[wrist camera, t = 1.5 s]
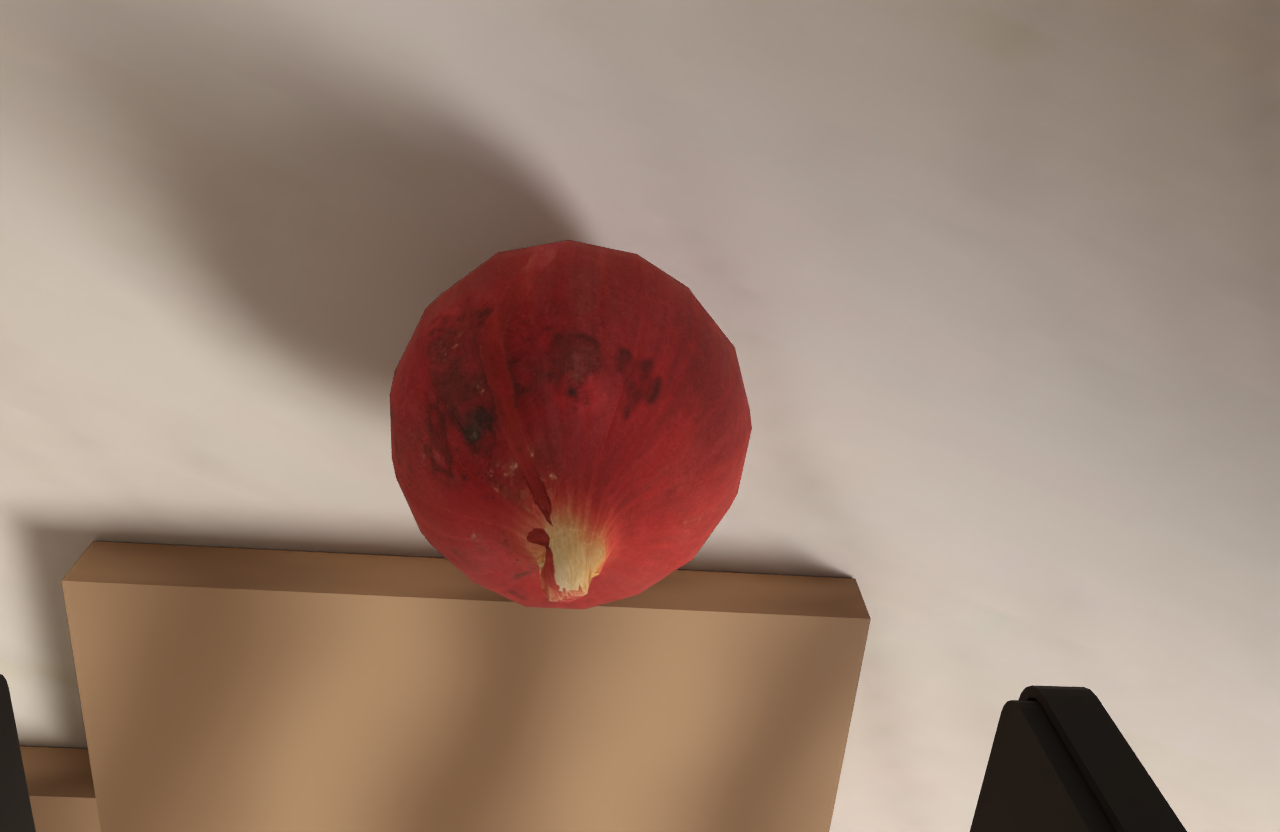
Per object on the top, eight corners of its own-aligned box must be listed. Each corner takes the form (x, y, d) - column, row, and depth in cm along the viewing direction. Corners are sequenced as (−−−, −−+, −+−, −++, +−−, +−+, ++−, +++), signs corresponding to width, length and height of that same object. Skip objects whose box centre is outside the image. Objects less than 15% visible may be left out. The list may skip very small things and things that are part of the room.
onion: (361, 317, 21) (238, 529, 14) (599, 130, 20) (600, 258, 13) (553, 525, 23) (533, 806, 16) (781, 368, 22) (871, 595, 15)
